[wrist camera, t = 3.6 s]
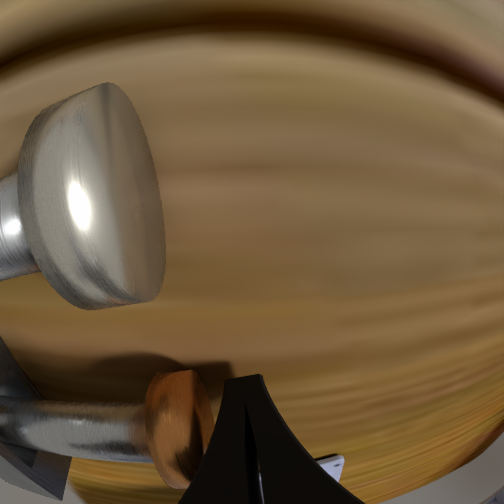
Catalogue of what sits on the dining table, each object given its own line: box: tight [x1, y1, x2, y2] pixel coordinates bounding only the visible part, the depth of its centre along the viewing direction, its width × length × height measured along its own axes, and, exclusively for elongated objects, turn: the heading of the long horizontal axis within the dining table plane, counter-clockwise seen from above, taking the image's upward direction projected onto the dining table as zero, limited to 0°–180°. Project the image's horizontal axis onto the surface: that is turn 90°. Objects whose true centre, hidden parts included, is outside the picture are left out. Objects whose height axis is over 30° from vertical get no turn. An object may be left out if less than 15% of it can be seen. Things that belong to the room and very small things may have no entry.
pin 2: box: [0, 370, 215, 489], centre depth 8 cm, size 13×4×4 cm, turn 99°
